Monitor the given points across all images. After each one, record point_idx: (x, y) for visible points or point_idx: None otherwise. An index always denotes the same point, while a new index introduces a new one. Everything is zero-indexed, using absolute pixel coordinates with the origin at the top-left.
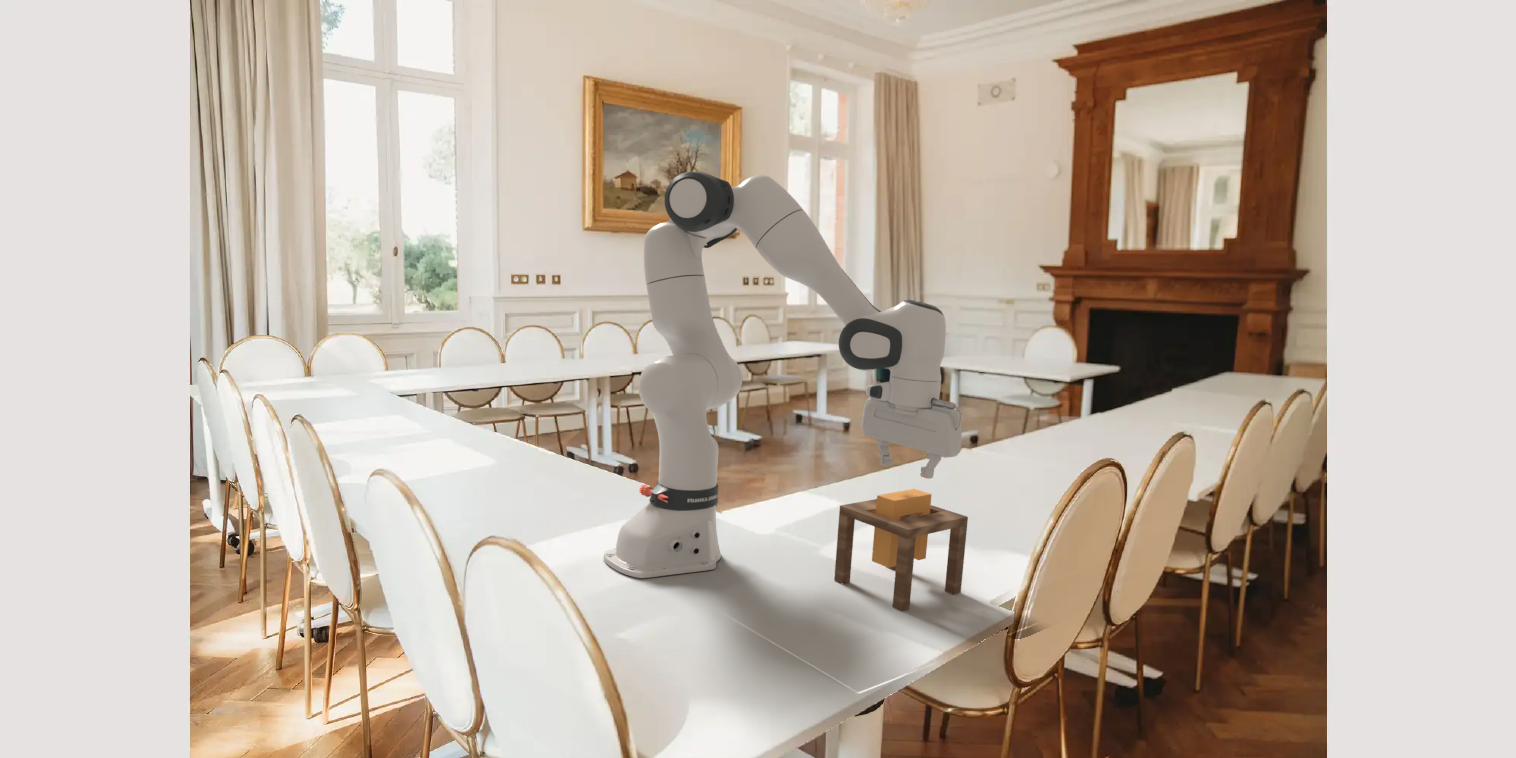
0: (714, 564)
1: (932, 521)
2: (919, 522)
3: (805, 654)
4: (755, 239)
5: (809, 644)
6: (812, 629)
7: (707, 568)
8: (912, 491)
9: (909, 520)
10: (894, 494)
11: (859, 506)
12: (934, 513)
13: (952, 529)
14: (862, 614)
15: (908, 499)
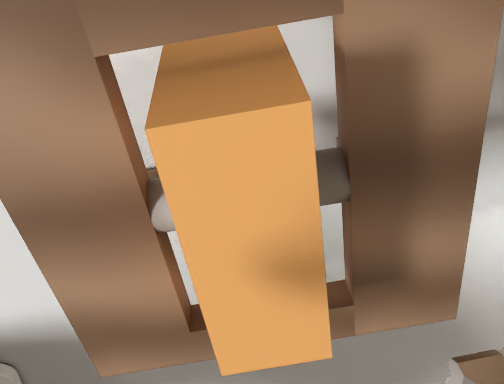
0: (9, 375)
1: (442, 180)
2: (418, 239)
3: (396, 361)
4: None
5: (375, 348)
6: None
7: (18, 381)
8: (207, 185)
9: (376, 259)
10: (235, 309)
11: (128, 328)
12: (353, 78)
13: None
14: (329, 232)
15: (325, 281)
